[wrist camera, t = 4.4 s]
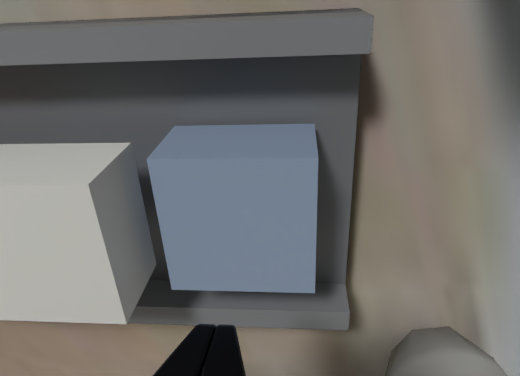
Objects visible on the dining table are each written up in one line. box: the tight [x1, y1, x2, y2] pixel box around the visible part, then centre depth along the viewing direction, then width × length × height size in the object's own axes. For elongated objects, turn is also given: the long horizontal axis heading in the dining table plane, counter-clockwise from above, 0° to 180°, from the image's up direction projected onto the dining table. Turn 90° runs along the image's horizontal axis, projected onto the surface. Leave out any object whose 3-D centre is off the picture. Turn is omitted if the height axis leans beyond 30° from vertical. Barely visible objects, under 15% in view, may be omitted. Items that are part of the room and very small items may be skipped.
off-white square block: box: [0, 143, 156, 324], centre depth 13 cm, size 5×5×3 cm
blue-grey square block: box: [147, 124, 318, 293], centre depth 14 cm, size 5×5×3 cm
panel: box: [0, 8, 374, 330], centre depth 16 cm, size 20×12×3 cm, turn 92°
